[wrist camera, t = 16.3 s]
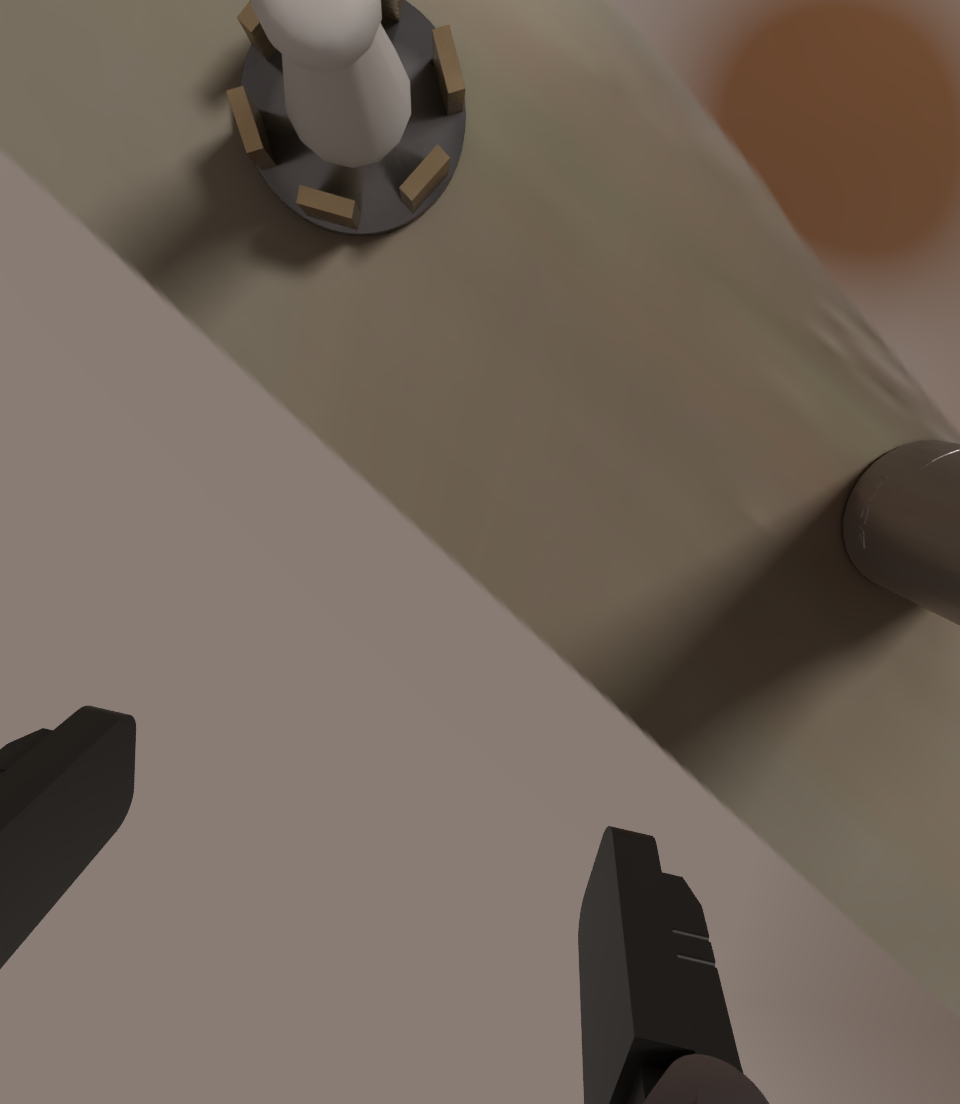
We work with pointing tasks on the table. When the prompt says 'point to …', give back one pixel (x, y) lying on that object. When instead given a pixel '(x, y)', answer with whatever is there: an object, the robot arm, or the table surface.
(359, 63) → the salt shaker
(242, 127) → the disc with wooden blocks
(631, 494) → the table surface
